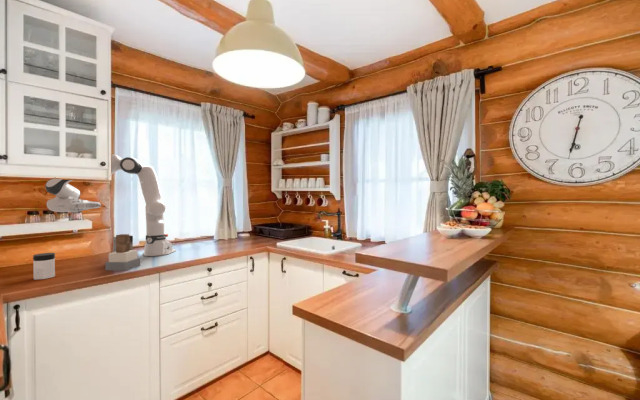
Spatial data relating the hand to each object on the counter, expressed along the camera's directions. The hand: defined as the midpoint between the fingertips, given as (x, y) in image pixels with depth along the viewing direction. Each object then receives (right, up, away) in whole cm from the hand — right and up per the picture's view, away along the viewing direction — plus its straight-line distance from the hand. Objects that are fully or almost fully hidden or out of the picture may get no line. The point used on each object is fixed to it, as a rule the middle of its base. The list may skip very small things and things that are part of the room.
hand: (93, 205), depth 176 cm
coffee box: (+14, -36, +7) cm, 39 cm away
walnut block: (+25, -27, -10) cm, 38 cm away
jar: (-2, -37, -29) cm, 47 cm away
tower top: (+25, -32, -9) cm, 42 cm away
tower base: (+25, -37, -9) cm, 46 cm away
